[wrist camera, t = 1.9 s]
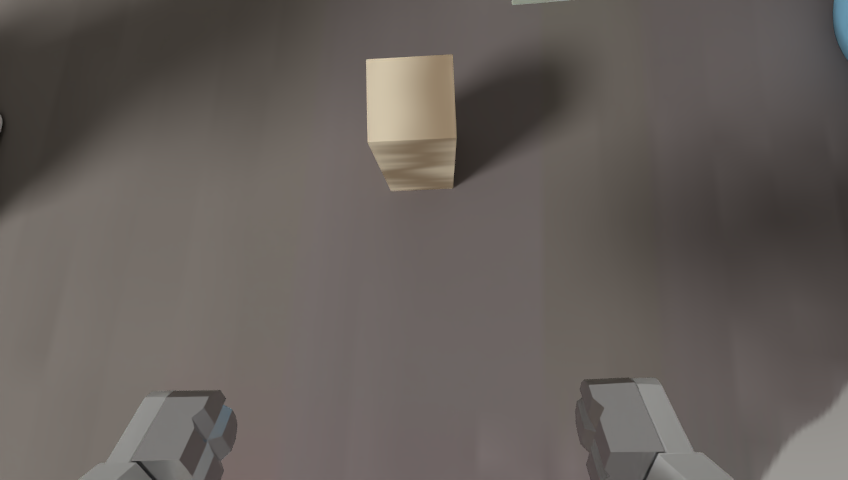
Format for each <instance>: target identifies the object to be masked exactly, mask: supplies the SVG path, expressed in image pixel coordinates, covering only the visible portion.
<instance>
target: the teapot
mask: <svg viewBox="0 0 848 480" xmlns="http://www.w3.org/2000/svg"><path fill="white" fill-rule="evenodd" d="M833 26H834V32H835V36H836V39H837V42H838V45H839V47H840V49H841V51H842V53H843V55H844V56H845V57H846V59H847V60H848V0H834V5H833Z"/></svg>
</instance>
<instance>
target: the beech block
mask: <svg viewBox="0 0 848 480" xmlns="http://www.w3.org/2000/svg"><path fill="white" fill-rule="evenodd" d="M366 76H367V131H368V144H369V146H370V148H371V150H372V152H373V154H374V156H375V158H376V161H377V163H378V165H379V167H380V169H381V171H382V173H383V175H384V177H385V179H386V181H387V183H388V185H389V188H390V190H391V191H406V190H428V189H449V188H453V181H454V167H455V153H456V140H457V135H456V114H455V93H454V72H453V54H452V55H434V56H417V57H400V58H383V59H366Z"/></svg>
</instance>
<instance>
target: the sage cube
mask: <svg viewBox="0 0 848 480" xmlns="http://www.w3.org/2000/svg"><path fill="white" fill-rule="evenodd" d="M555 1H567V0H512V5H518V4H530V3H543V2H555Z"/></svg>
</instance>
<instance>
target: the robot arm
mask: <svg viewBox="0 0 848 480" xmlns="http://www.w3.org/2000/svg"><path fill="white" fill-rule="evenodd" d="M1 128H2V117H1V115H0V132H1ZM580 392H581V395H582V398H581V399H579V400H578V401H577V404H576V410H575V416H576V427H577V432H578V436H579V440H580V444H581V445H582V446H583V447H584V448H585V449H586V450H587V451H588V452H589V456H588V460H587V464H586V466H587V469H588V473H589V476H590V480H735V479H733V478H732V477H731V476H730V475H729V474H727V473H726V472H725V471H724V470H723V469H721V468H720V467H719V466H718V465H717V464H715V463H714V462H713V461H712V460H711V459H710V458H708V457H707V456H706V455H705V454H704V453H702V452H694V450H693V448H692V446H691V444H690V442H689V440H688V438H687V436H686V434H685V432H684V430H683V428H682V426H681V424H680V422H679V420H678V417H677V415H676V413H675V411H674V409H673V407H672V405H671V403H670V401H669V399H668V397H667V395H666V393H665V391H664V389H663V387H662V385H661V383H660V382H659V381H658V380H657V379H656V378H653V377H648V378H608V379H586V380H583V381H582V382H581V386H580ZM225 399H226V398H225V396H224V395H223V393H222V392H221V390H193V391H176V390H175V391H152V392H151V393H150V394H149V395H147V396H146V397H145V398H144V400H143V401H142V403H141V405H140V406H139V408H138V410H137V411H136V413H135V415H134V416H133V418H132V420H131V421H130V423H129V425H128V426H127V428H126V430H125V431H124V433H123V435H122V436H121V438H120V440H119V441H118V443H117V445H116V446H115V448H114V450H113V451H112V453H111V455H110V456H109V458H108V460H107V461H106V463H98V464H97V465H96V466H95V467H94V468H92V469H91V470H90V471H89V472H87V473H86V474H85V475H84V476H82V477H81V478H80V479H79V480H221V477H222V474H223V472H224V469H223V466H222V463H221V460H222V459H223V458H224V457H225V456H227V455H228V454H229V453H230V452H231V450H232V448H233V445H234V442H235V439H236V432H237V420H236V416H235V414H234V412H233V410H232V409H230V408H228V407H227V406H225V405H223V404H224V402H225Z"/></svg>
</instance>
